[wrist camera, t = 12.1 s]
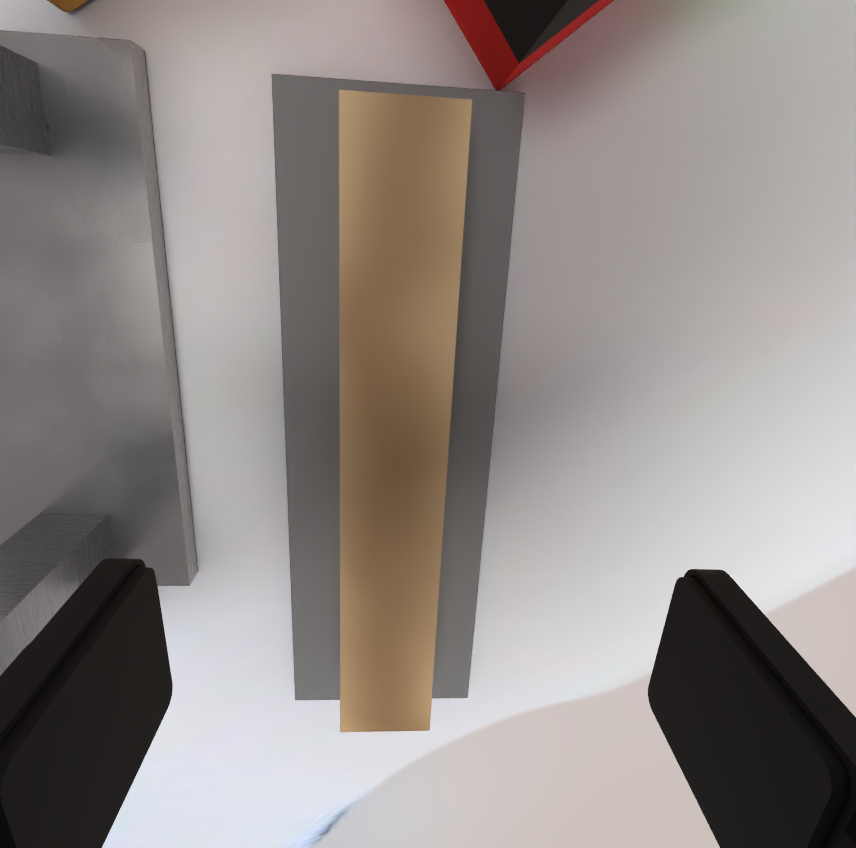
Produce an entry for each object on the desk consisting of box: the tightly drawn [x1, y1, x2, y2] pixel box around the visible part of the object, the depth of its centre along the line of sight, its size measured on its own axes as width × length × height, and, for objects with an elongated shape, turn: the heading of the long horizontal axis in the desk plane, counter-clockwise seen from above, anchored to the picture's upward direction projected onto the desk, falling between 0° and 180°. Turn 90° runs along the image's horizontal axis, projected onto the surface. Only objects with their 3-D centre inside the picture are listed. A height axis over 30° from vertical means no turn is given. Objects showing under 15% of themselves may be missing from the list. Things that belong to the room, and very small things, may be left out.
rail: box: [339, 90, 472, 732], centre depth 20 cm, size 4×22×4 cm, turn 177°
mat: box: [272, 74, 525, 700], centre depth 22 cm, size 8×25×1 cm, turn 177°
